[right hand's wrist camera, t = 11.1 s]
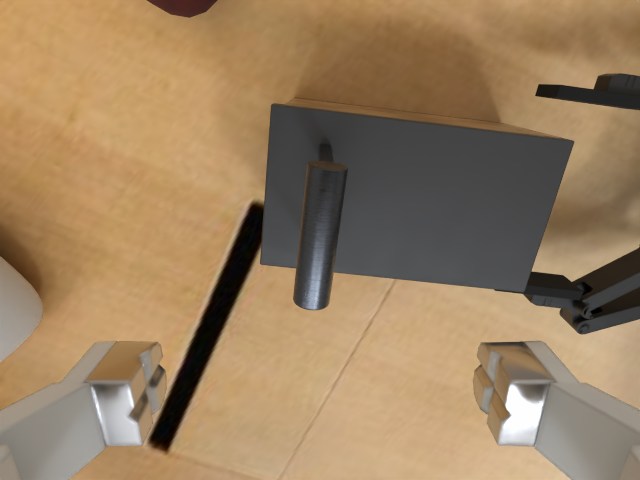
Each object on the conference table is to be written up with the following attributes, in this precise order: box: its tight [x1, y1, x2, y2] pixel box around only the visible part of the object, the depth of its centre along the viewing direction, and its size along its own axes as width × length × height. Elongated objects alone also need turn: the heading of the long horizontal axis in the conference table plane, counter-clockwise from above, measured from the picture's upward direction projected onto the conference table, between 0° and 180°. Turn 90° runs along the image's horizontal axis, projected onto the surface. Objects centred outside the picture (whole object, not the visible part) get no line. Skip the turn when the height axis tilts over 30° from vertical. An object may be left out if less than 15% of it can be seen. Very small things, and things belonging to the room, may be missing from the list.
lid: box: [260, 103, 574, 310], centre depth 23 cm, size 18×10×9 cm, turn 83°
